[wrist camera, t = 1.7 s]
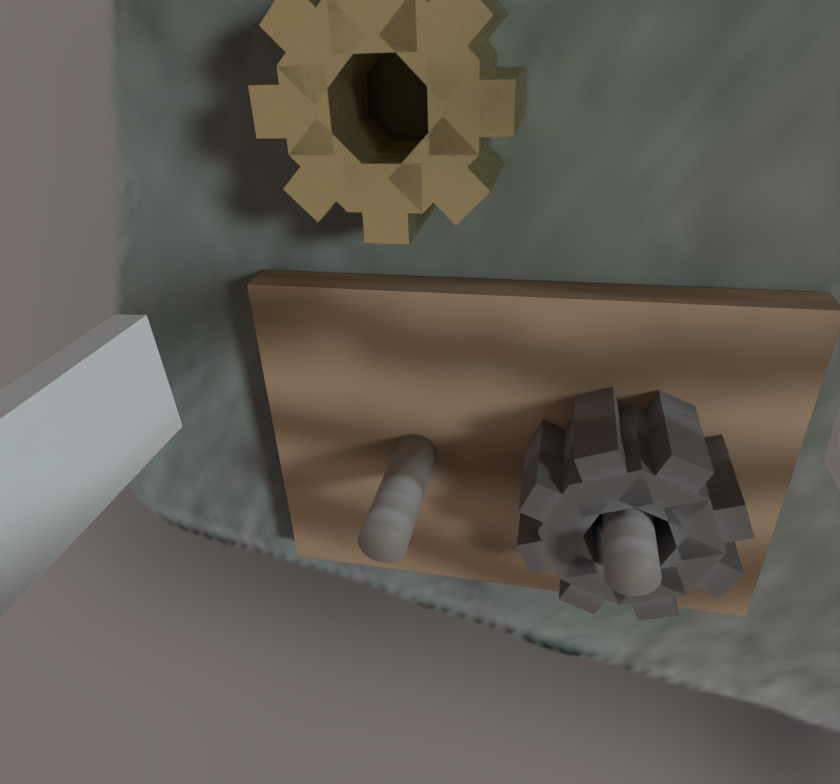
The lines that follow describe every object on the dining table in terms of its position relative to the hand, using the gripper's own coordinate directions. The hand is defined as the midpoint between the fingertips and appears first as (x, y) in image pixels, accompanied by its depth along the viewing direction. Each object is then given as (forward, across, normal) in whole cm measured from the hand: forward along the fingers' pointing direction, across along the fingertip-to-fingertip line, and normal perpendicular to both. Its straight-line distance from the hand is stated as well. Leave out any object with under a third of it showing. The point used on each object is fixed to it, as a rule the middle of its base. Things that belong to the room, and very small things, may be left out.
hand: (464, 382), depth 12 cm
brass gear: (+18, -5, +3) cm, 19 cm away
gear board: (+18, -1, -14) cm, 23 cm away
